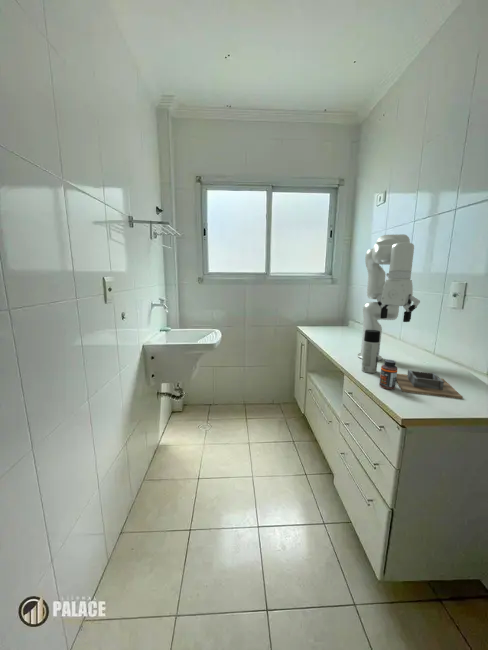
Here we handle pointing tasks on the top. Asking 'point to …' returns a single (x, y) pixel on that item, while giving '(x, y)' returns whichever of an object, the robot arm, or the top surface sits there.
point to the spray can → (370, 351)
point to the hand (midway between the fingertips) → (394, 320)
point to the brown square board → (426, 384)
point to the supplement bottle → (388, 374)
